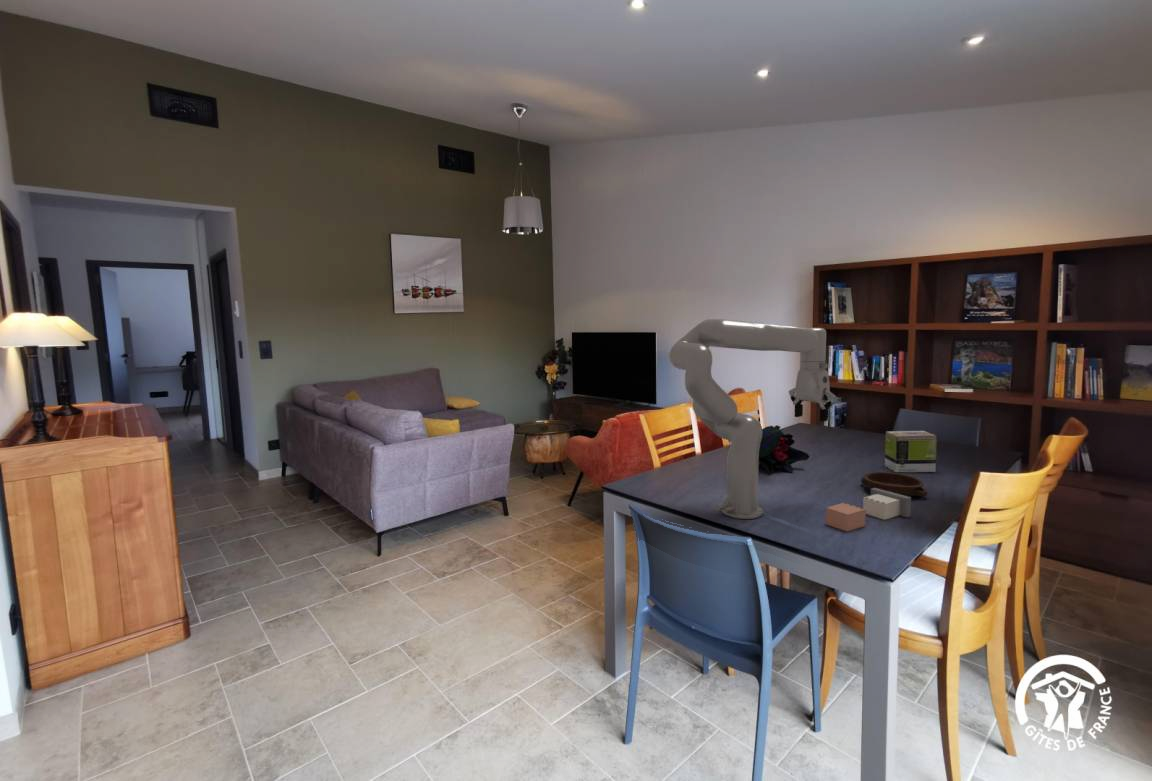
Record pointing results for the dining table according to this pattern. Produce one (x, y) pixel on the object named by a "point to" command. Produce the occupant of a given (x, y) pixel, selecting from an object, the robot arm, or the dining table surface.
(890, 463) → the tea box
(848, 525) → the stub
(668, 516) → the dining table surface
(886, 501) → the white block
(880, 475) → the dish
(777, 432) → the decorative plant
